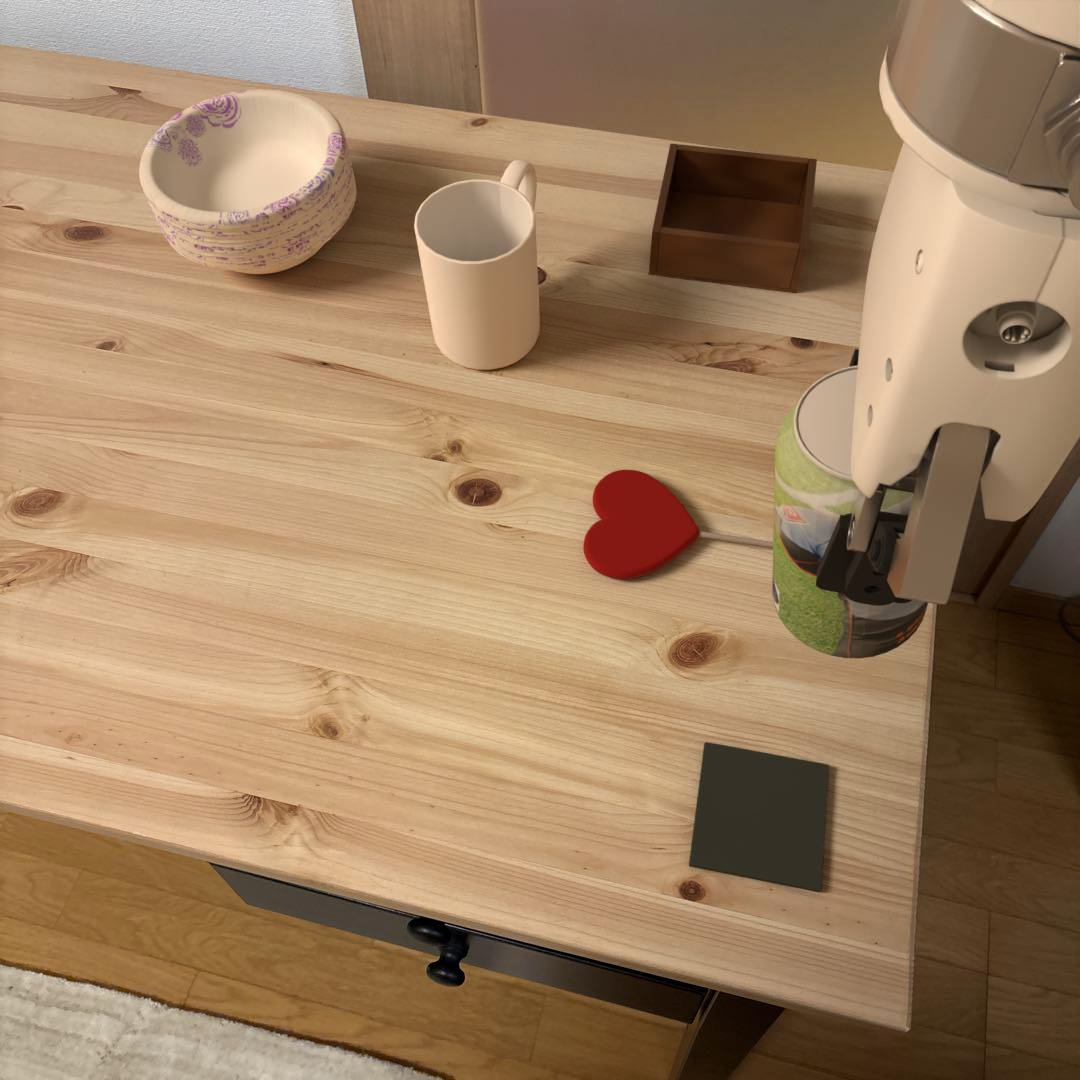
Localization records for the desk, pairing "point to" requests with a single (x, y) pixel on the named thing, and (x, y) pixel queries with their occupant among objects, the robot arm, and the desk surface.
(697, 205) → the wooden box
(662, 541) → the lollipop
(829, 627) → the beverage can
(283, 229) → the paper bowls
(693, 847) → the coaster
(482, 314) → the mug
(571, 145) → the desk surface
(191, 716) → the desk surface
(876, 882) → the desk surface
